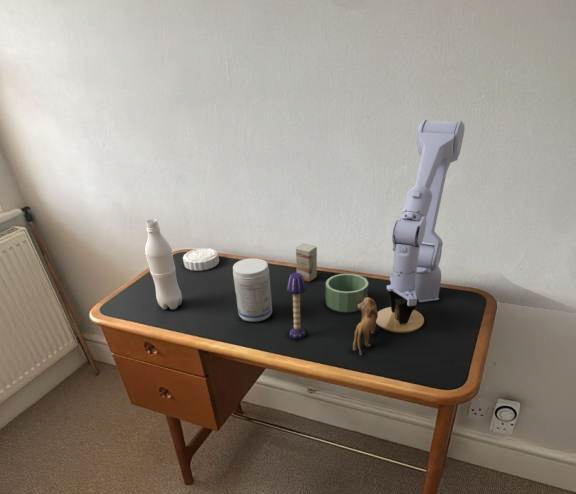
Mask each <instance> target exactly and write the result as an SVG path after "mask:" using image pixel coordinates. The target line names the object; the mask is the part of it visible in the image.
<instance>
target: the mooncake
mask: <svg viewBox="0 0 576 494" xmlns="http://www.w3.org/2000/svg"><path fill="white" fill-rule="evenodd" d="M182 261H183V265H184V268H185V269H187V270H189V271H196V272H198V271H201V272H202V271H208V270H210V269H213V268H215V267H216V266H218V265H219V263H220V257H219V252H218V250H216V249H213V248H209V247H204V248H195V249H191V250H189V251H188V252H186V253H184V254H183V256H182Z"/></svg>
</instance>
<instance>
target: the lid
mask: <svg viewBox="0 0 576 494" xmlns="http://www.w3.org/2000/svg"><path fill="white" fill-rule="evenodd" d="M377 312H378V317H377V320H376V326H378V327H380V328H381V329H383V330H386V331H387V332H388V331H389V332H391V333H398V334H399V333H400V334H403V333H404V334H405V333H411V332H415V331H417V330H419V329H421V328H422V327H423V326H424V323H425V318H424V316H423V314H422V313H420V312H419V311H417V309H414V310H413V312H412V314H411V316H410V318H409V320H408V323H404V324H400V323H399V320H398V308H397V304H396V306H395V313H392V310H391V306H388V307H385V308H383V309H380V310H379V311H377Z"/></svg>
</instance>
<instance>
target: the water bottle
mask: <svg viewBox="0 0 576 494" xmlns="http://www.w3.org/2000/svg"><path fill="white" fill-rule="evenodd" d="M145 226H146V233H147V239H146V243H145V247H144V254H145V257H146V260H147V264H148V268H149V273H150V275H151V277H152V280H153V283H154V287H155V296H156V297H155V298H156V301H157V304H158V305H159V307H160V308H161V309H162V310H168V308H169V310H176V309H177V308H178V306H181V305H182V303H183V302H182V301H183V293H182V290H181V288H180V286H179V283H178V280H177V271H176V265H175V264H176V263H175V260H174V256H173V250H172V246H171V244H170V243H169V242H168V241H167V239H166V238H165V237H164V236H163V234H162V233H161V227H160V225H159V222H158V219H157V218H150V219H147V220H145Z"/></svg>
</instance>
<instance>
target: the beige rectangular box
mask: <svg viewBox="0 0 576 494" xmlns="http://www.w3.org/2000/svg"><path fill="white" fill-rule="evenodd" d="M317 261H318V247H317V246H316V245H312V244H308V243H301V244H300V245H298V246H297V247H296V248H295V263H296V264H295V266H296V273H301V274H302V276H303V279H304V282H308V283H310V282H311V281H313V280H315V279H316V278H317V276H318V275H317V274H318V273H317V271H318V270H317V269H318V267H317V265H318V264H317Z"/></svg>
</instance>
